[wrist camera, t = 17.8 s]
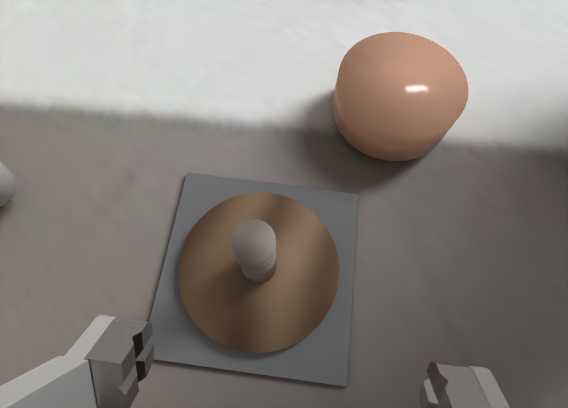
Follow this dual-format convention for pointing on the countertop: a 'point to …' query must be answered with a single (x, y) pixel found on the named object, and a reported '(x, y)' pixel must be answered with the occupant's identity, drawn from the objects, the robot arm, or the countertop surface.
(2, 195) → the white torus ring
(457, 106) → the peach dome knob
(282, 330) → the walnut lid
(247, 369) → the rubber mat
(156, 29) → the countertop surface
